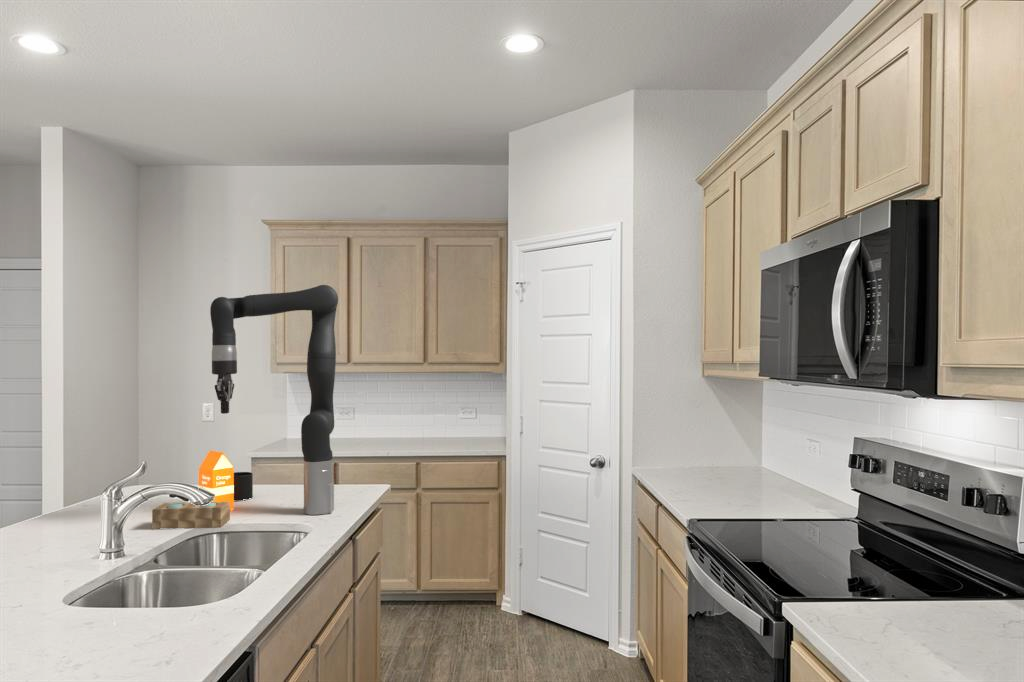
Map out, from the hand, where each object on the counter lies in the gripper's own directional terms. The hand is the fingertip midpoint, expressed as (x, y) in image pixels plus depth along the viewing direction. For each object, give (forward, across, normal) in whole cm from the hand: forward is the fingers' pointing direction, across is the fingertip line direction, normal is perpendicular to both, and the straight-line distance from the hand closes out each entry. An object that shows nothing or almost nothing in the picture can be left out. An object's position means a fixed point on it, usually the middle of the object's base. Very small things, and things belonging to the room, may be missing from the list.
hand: (225, 413), depth 226 cm
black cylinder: (+34, +33, +5) cm, 47 cm away
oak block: (+34, -8, +8) cm, 35 cm away
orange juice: (+34, +12, +7) cm, 37 cm away
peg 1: (+33, -7, +13) cm, 37 cm away
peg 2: (+33, -8, +3) cm, 34 cm away
